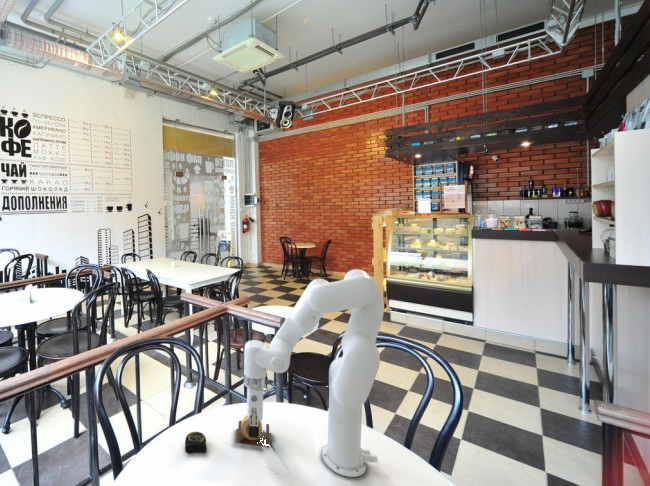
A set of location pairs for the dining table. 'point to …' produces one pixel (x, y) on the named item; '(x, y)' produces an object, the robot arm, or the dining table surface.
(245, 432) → the tape roll
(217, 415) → the dining table surface
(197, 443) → the tape measure
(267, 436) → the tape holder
